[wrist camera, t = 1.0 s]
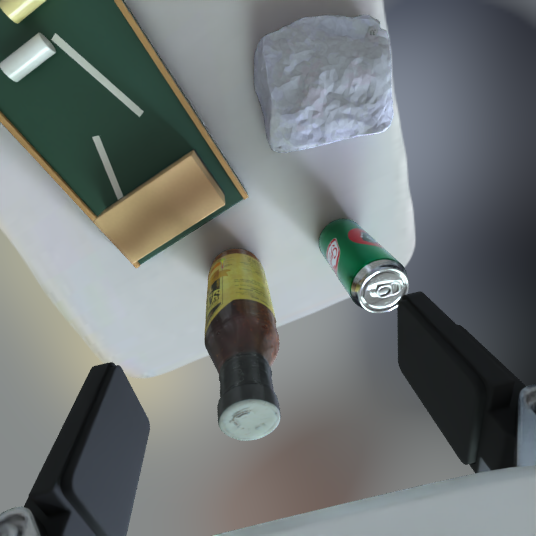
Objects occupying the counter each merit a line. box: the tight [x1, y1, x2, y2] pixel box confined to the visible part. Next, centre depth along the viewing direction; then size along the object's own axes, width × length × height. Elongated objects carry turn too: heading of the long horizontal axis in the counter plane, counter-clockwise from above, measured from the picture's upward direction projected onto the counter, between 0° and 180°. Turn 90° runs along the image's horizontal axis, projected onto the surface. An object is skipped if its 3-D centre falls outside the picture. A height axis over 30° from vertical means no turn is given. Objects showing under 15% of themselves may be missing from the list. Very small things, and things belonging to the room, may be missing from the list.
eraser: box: [93, 149, 225, 264], centre depth 31 cm, size 5×10×4 cm, turn 121°
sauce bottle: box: [205, 249, 280, 440], centre depth 30 cm, size 6×6×20 cm
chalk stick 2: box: [0, 33, 56, 82], centre depth 26 cm, size 2×4×2 cm
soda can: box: [319, 219, 409, 313], centre depth 33 cm, size 5×5×12 cm
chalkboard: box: [0, 0, 248, 268], centre depth 29 cm, size 26×14×2 cm, turn 31°
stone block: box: [254, 15, 393, 153], centre depth 30 cm, size 12×5×10 cm
